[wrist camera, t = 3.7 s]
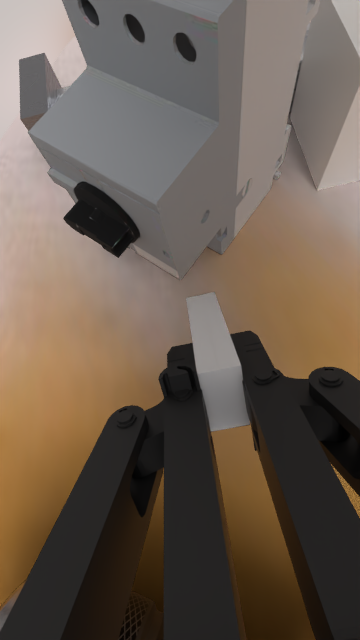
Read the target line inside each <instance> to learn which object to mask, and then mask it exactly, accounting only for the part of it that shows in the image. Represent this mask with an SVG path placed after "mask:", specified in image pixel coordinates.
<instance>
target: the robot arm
mask: <svg viewBox="0 0 360 640" xmlns="http://www.w3.org/2000/svg"><path fill="white" fill-rule="evenodd" d="M186 301H187V308H188V315H189V322H190V329H191V336H192V343H190V344H185V345H180V346H175V347H172V348H171V349H170V351H169V352H168V354H167V362H168V363H167V368H166V369H165V370H163V372H162V373H161V374H160V376H159V382H160V385H161V389H162V392H163V395H164V399H163V401H162V402H160V403H159V404H158V405H156V406H154V407H153V408H150V409H148V410H146V411H144V410H143V409H142V408H140V407H139V406H133V405H131V406H125V407H123V408H121V409H118V410H117V411H116V412H114V413H113V414H112V415H111V416H110V418H109V419H108V421H107V423H106V425H105V427H104V429H103V431H102V433H101V435H100V437H99V439H98V440H97V442H96V444H95V446H94V448H93V450H92V452H91V454H90V456H89V458H88V460H87V462H86V464H85V466H84V468H83V470H82V472H81V474H80V476H79V478H78V480H77V482H76V484H75V486H74V488H73V490H72V492H71V493H70V495H69V497H68V499H67V501H66V503H65V505H64V507H63V509H62V511H61V513H60V515H59V517H58V519H57V521H56V523H55V525H54V527H53V529H52V531H51V533H50V535H49V537H48V539H47V541H46V543H45V545H44V546H43V548H42V550H41V552H40V554H39V556H38V558H37V560H36V562H35V564H34V566H33V568H32V570H31V572H30V574H29V576H28V578H27V580H26V582H25V584H24V586H23V588H22V590H21V592H20V594H19V596H18V598H17V600H16V601H15V603H14V605H13V607H12V609H11V611H10V613H9V615H8V617H7V619H6V621H5V623H4V625H3V627H2V629H1V631H0V640H118V639H119V635H120V631H121V627H122V624H123V620H124V616H125V612H126V609H127V605H128V601H129V597H130V594H131V590H132V586H133V582H134V579H135V575H136V571H137V567H138V564H139V560H140V556H141V552H142V549H143V545H144V541H145V537H146V534H147V530H148V526H149V522H150V519H151V515H152V511H153V507H154V504H155V500H156V496H157V492H158V489H159V485H160V481H161V477H162V474H163V468H164V640H247V639H246V633H245V627H244V621H243V615H242V610H241V604H240V598H239V592H238V586H237V580H236V574H235V568H234V562H233V557H232V551H231V545H230V539H229V533H228V527H227V521H226V515H225V509H224V503H223V498H222V492H221V486H220V480H219V474H218V468H217V462H216V456H215V450H214V445H213V440H212V436H211V432H212V431H218V430H223V429H228V428H234V427H239V426H245V425H250V423H251V427H252V434H253V441H254V447H255V451H256V450H257V451H258V454H259V458H260V461H261V464H262V467H263V471H264V474H265V477H266V480H267V484H268V487H269V490H270V493H271V497H272V500H273V503H274V506H275V510H276V513H277V516H278V519H279V523H280V526H281V529H282V532H283V535H284V539H285V542H286V545H287V548H288V552H289V555H290V558H291V561H292V565H293V568H294V571H295V574H296V578H297V581H298V584H299V587H300V591H301V594H302V597H303V600H304V604H305V607H306V610H307V613H308V617H309V620H310V623H311V626H312V630H313V633H314V636H315V639H316V640H360V518H359V516H358V515H357V513H356V511H355V509H354V507H353V505H352V503H351V501H350V499H349V498H348V496H347V494H346V492H345V490H344V488H343V486H342V484H341V483H340V481H339V479H338V477H337V475H336V473H335V471H334V469H333V468H332V466H331V464H332V465H333V466H334V468H335V469H336V470H337V471H338V472H339V473H340V474H341V476H342V477H343V478H344V479H345V480H346V481H347V483H348V484H349V485H350V486H351V487H352V488H353V489H354V491H355V492H356V493H357V494H358V495H359V496H360V381H359V380H358V379H356V378H355V377H354V376H352V375H351V374H349V373H348V372H346V371H344V370H342V369H339V368H335V367H323V368H318V369H316V370H314V371H312V372H311V374H310V375H309V379H294V378H289V377H285V376H283V374H282V373H281V372H280V371H279V370H277V369H275V368H274V366H273V365H272V363H271V361H270V359H269V357H268V355H267V353H266V351H265V349H264V347H263V345H262V343H261V341H260V339H259V337H258V335H256V334H255V333H253V332H251V331H245V332H240V333H235V334H230V333H229V331H228V328H227V325H226V322H225V320H224V317H223V314H222V311H221V308H220V306H219V303H218V300H217V297H216V295H215V292H212V293H207V294H203V295H198V296H193V297H188V298H186ZM249 420H250V421H249ZM330 463H331V464H330Z"/></svg>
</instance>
